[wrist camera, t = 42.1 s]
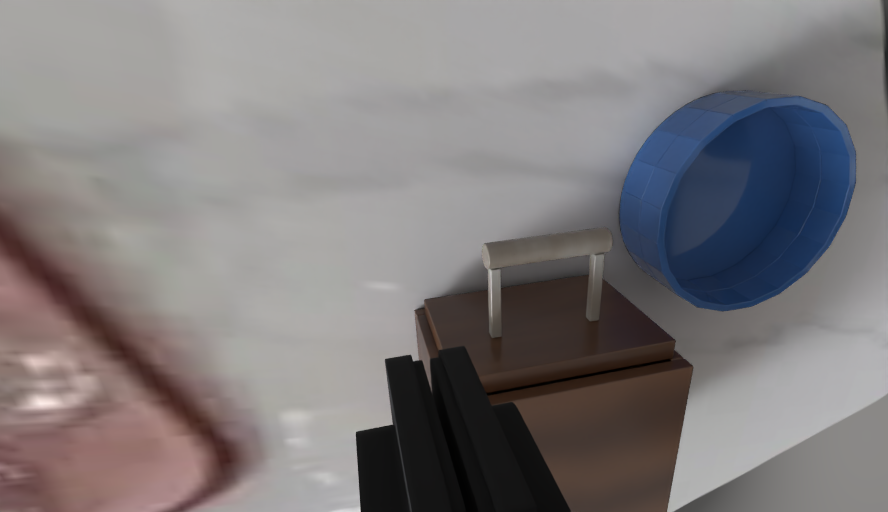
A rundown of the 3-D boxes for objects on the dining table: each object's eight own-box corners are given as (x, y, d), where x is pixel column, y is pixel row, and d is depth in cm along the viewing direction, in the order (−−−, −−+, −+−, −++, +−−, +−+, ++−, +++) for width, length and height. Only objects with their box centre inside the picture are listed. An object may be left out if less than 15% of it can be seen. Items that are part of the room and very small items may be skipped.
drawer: (417, 217, 30) (448, 278, 22) (603, 194, 32) (692, 243, 24) (438, 471, 39) (465, 580, 31) (583, 440, 41) (644, 535, 33)
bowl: (629, 99, 31) (674, 107, 27) (817, 83, 33) (884, 88, 29) (610, 294, 37) (645, 325, 33) (772, 268, 39) (823, 294, 35)
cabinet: (414, 309, 34) (447, 414, 24) (597, 281, 36) (694, 366, 26) (430, 484, 40) (461, 620, 31) (583, 451, 43) (656, 568, 33)
